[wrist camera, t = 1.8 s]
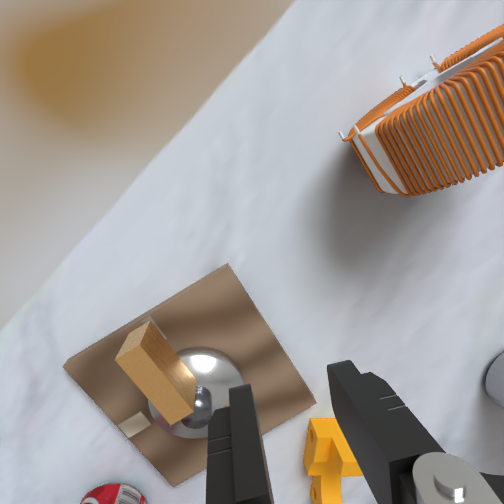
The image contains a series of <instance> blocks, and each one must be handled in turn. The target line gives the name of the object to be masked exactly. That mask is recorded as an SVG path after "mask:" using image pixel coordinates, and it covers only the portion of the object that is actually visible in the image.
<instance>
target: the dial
mask: <svg viewBox="0 0 504 504" xmlns="http://www.w3.org/2000/svg"><path fill="white" fill-rule="evenodd" d="M115 361H116V362H117V363H118V364H119V365H120V366H121V368H122V369H123V370H124V371H125V372H126V374H127V375H128V376H129V377H130V378H131V379H132V381H133V382H134V383H135V384H136V385H137V386H138V388H139V389H140V390H141V391H142V392H143V393H144V395H145V396H146V397H147V398H148V405H149V409H150V412H151V415H152V416H153V418H154V420H155V421H156V422H157V424H158V425H159V426H160V427H162V428H163V429H164V430H166V431H167V432H169V433H171V434H173V435H176V436H179V437H183V438H192V439H196V438H205V437H208V423H209V421H210V419H211V417H212V415H213V413H214V411H215V410H216V409H220V408H224V407H228V406H230V405H229V388H232V387H236V386H241V385H244V381H243V376H242V373H241V370H240V368H239V367H238V365H237V364H236V362H235V361H234V360H233V359H232V358H231V357H230V356H228V355H227V354H225V353H223V352H221V351H219V350H217V349H214V348H209V347H190V348H186V349H183V350H180V351H177V352H175V351H174V350H173V349H172V348H171V346H170V345H169V344H168V342H167V341H166V340H165V338H164V337H163V336H162V335H161V333H160V332H159V331H158V329H157V328H156V327H155V326H154V324H153V323H152V322H151V320H150V321H149V322H147V323H145V324H144V325H142V326H140V327H139V328H137V329H135V330H134V331H132V332H130V333H129V334H128V336H127V338H126V340H125V342H124V344H123V345H122V347H121V349H120V351H119V353H118V355H117V356H116V358H115Z"/></svg>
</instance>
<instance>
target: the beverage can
mask: <svg viewBox="0 0 504 504" xmlns="http://www.w3.org/2000/svg"><path fill="white" fill-rule="evenodd" d="M80 504H147V502H146V500H145V498H144V496H143V495H142V494H141V493H140V492H139V491H138V490H137V489H136V488H134V487H132V486H130V485H128V484H124V483H109V484H105V485H102V486H100V487H97V488H95V489H93V490H92V491H90V492H88V493H87V495H86V496H85V497H84V498H83V499H82V501H81V503H80Z"/></svg>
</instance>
